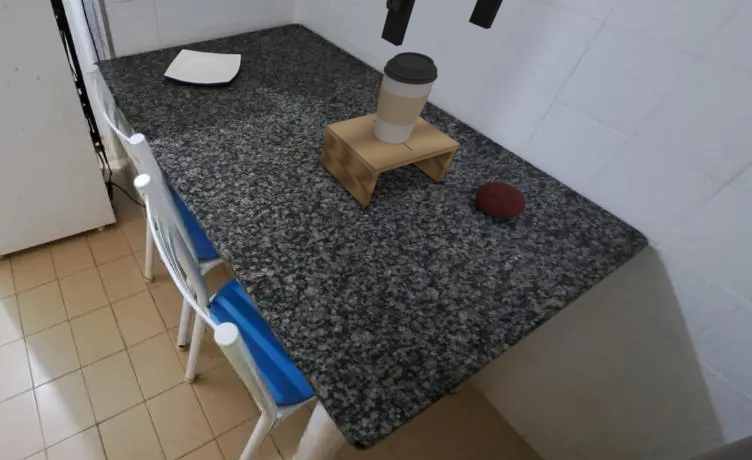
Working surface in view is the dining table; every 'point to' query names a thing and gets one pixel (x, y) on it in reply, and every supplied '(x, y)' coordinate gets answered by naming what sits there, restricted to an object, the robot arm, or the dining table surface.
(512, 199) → the potato
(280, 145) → the dining table surface
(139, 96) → the dining table surface
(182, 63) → the plate
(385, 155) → the board
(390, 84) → the coffee cup
